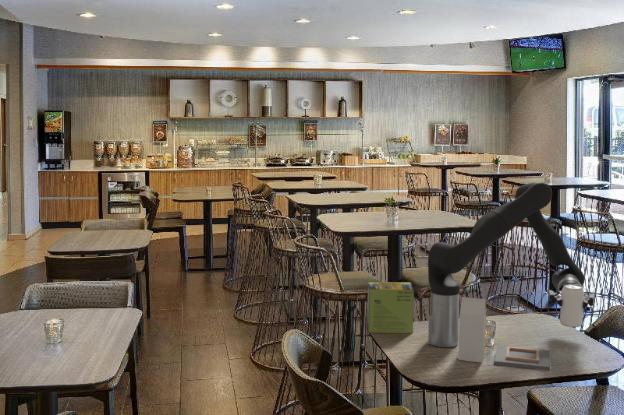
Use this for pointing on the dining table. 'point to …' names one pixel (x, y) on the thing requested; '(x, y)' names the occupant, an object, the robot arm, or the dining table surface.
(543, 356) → the seat plate
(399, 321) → the protein box
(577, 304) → the can
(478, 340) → the milk carton
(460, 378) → the dining table surface
